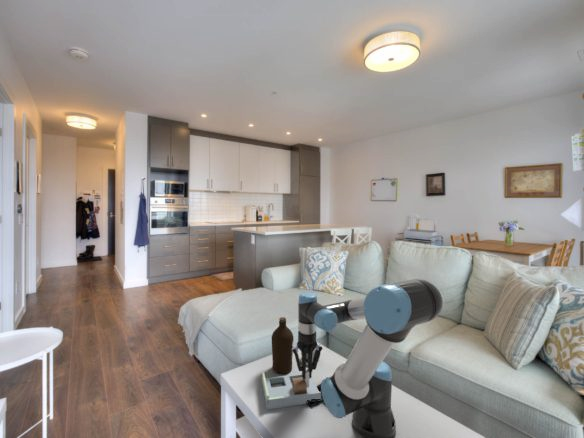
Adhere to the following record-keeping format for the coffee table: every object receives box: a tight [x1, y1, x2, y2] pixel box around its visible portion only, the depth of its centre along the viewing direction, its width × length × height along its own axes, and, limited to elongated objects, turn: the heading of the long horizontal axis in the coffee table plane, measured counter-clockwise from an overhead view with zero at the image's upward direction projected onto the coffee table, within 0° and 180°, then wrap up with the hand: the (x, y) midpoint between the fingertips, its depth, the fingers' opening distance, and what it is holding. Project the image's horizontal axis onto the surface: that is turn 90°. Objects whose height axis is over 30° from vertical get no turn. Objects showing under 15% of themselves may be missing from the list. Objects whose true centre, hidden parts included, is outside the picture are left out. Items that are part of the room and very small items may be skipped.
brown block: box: [292, 377, 307, 395], centre depth 117 cm, size 5×5×4 cm
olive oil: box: [271, 316, 294, 375], centre depth 137 cm, size 11×11×25 cm
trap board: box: [261, 371, 322, 411], centre depth 120 cm, size 16×22×6 cm
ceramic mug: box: [300, 348, 322, 367], centre depth 144 cm, size 11×8×8 cm
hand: (306, 385), depth 118 cm, fingers closed
